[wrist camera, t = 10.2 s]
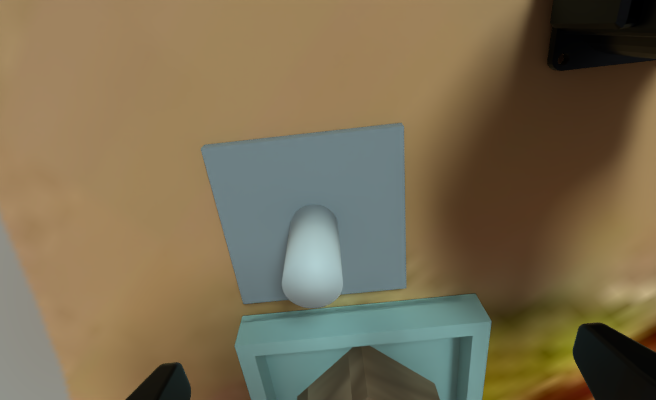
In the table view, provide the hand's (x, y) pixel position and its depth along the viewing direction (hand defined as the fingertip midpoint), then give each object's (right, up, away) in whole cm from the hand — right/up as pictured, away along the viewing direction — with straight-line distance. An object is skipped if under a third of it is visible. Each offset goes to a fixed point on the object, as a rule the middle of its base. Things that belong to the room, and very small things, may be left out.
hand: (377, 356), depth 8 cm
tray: (+2, -10, +18) cm, 21 cm away
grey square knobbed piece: (-2, +2, +12) cm, 13 cm away
